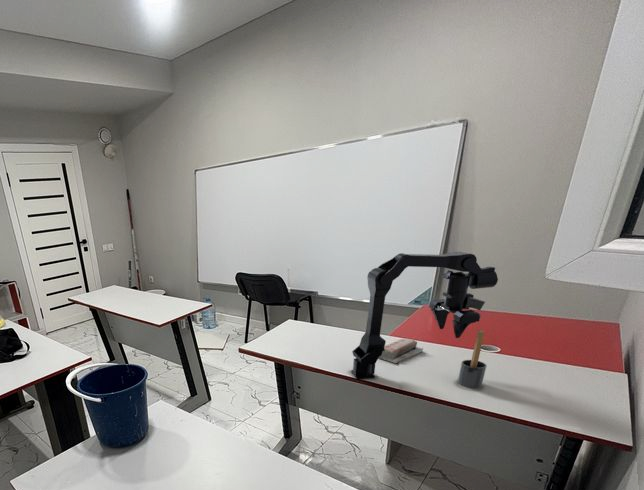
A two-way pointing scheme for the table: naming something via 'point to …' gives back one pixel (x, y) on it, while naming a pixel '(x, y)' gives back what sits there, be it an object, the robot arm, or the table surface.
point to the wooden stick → (477, 348)
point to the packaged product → (400, 350)
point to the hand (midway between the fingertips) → (449, 333)
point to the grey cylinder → (471, 374)
